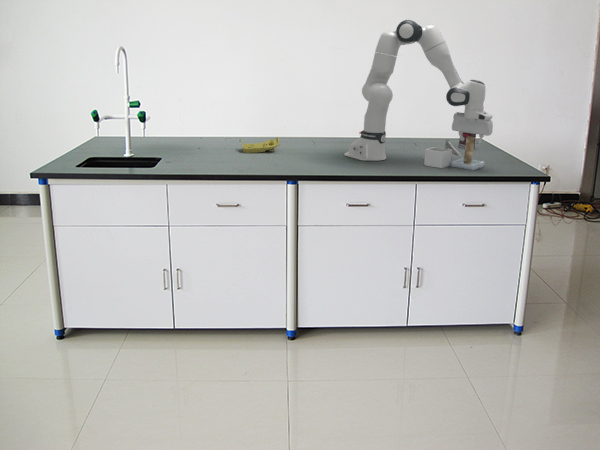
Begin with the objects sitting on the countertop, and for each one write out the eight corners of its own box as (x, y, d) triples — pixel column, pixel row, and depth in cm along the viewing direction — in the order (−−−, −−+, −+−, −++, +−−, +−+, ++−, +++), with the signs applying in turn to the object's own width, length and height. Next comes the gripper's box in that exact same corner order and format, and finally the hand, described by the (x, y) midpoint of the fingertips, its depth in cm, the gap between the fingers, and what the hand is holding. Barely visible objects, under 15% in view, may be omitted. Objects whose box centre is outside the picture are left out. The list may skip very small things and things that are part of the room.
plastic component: (242, 149, 319) (241, 137, 326) (243, 160, 325) (242, 148, 332) (280, 146, 321) (278, 135, 328) (280, 157, 326) (278, 145, 333)
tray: (450, 166, 304) (451, 161, 303) (461, 162, 312) (462, 158, 312) (472, 170, 296) (473, 165, 296) (483, 166, 305) (484, 161, 304)
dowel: (461, 164, 304) (465, 137, 299) (465, 163, 307) (468, 136, 302) (469, 166, 301) (472, 138, 297) (472, 164, 304) (476, 137, 300)
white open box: (424, 165, 305) (425, 149, 302) (433, 162, 312) (435, 146, 309) (441, 168, 299) (442, 152, 296) (450, 165, 306) (452, 149, 303)
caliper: (444, 149, 346) (445, 138, 344) (446, 149, 346) (447, 138, 344) (459, 156, 327) (460, 145, 325) (461, 156, 327) (462, 145, 325)
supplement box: (474, 149, 346) (478, 121, 341) (468, 149, 344) (471, 122, 339) (464, 146, 353) (467, 119, 348) (458, 146, 351) (461, 119, 346)
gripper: (451, 112, 300) (448, 139, 304) (490, 117, 287) (486, 146, 292) (457, 111, 304) (454, 138, 309) (495, 116, 292) (492, 144, 296)
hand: (470, 142), depth 300 cm, fingers open, 7 cm apart
